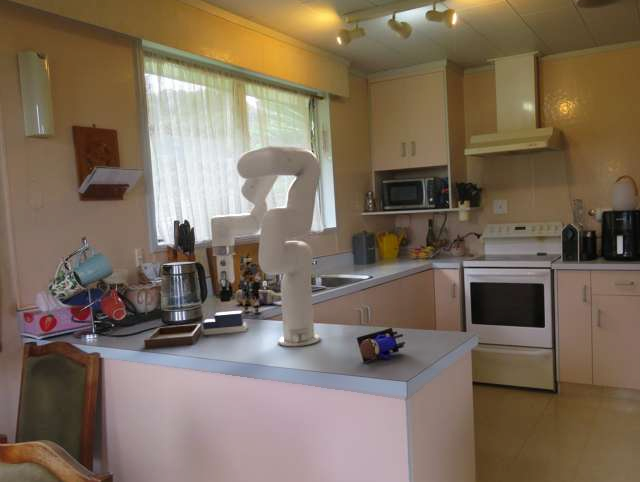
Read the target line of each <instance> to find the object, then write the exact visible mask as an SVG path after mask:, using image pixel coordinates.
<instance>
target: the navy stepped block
mask: <svg viewBox="0 0 640 482" xmlns="http://www.w3.org/2000/svg"><path fill="white" fill-rule="evenodd" d="M202 326H203V336H210V335H220V334H232V333H233V334H234V333H245V332H246V330H247V322H244V313H243V310H233V311H232V310H231V311H220V312H216V313H215V314H214V318H208V319H207V318H206V319H204V320H203V322H202Z"/></svg>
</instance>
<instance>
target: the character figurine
mask: <svg viewBox="0 0 640 482" xmlns="http://www.w3.org/2000/svg"><path fill="white" fill-rule="evenodd" d="M403 337H404V334H403V333H400V334H398V331H397V330H396V331H393V327H389V328H386V329H383V330H379V331H376V332H372V333H368V334H365V335H361V336H357V337H356V341H357V345H358V348H359V352H360V354H361V358H362V362H363V363H367V362H369V361H373V360H377V359H380V358H382V359H384V360H388V359H389V357H391V355H392V354H396V353H399V352H400V350H399V349H403V348H405V344H406V342H405V341H401V342H398V343H397V339H399V338H403Z"/></svg>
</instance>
